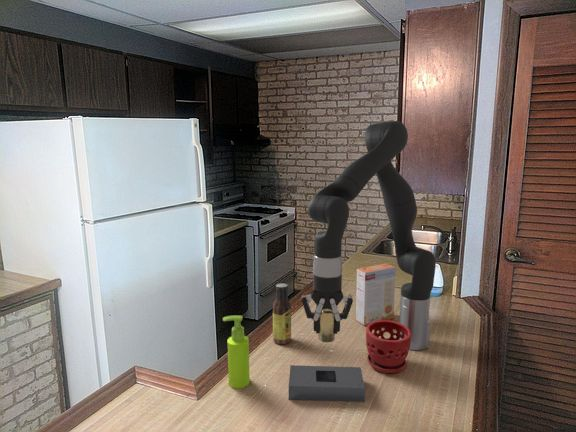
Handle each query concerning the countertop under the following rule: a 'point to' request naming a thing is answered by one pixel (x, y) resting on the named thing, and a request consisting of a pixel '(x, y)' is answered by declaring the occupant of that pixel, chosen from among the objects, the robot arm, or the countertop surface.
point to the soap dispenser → (238, 354)
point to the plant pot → (387, 346)
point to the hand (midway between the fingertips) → (326, 332)
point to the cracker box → (375, 293)
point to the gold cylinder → (326, 326)
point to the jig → (326, 383)
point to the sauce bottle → (281, 316)
